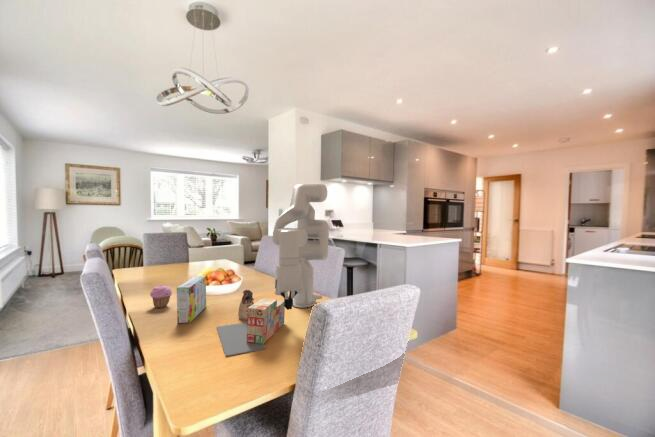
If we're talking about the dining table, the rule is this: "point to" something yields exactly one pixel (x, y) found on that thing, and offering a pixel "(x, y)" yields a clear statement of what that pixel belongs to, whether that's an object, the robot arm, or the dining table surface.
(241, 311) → the figurine
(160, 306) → the cupcake
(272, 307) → the stack of blocks
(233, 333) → the mat
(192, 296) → the snack box
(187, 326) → the dining table surface
